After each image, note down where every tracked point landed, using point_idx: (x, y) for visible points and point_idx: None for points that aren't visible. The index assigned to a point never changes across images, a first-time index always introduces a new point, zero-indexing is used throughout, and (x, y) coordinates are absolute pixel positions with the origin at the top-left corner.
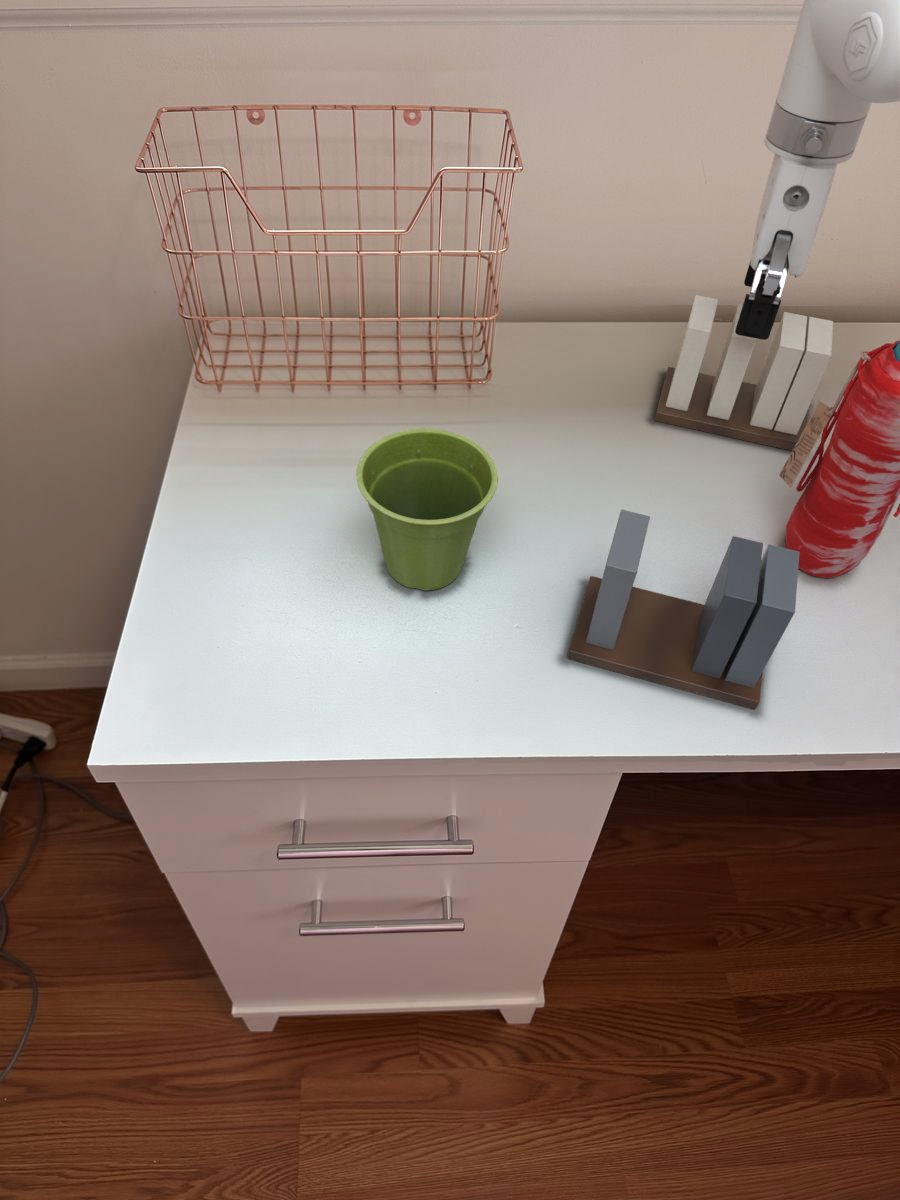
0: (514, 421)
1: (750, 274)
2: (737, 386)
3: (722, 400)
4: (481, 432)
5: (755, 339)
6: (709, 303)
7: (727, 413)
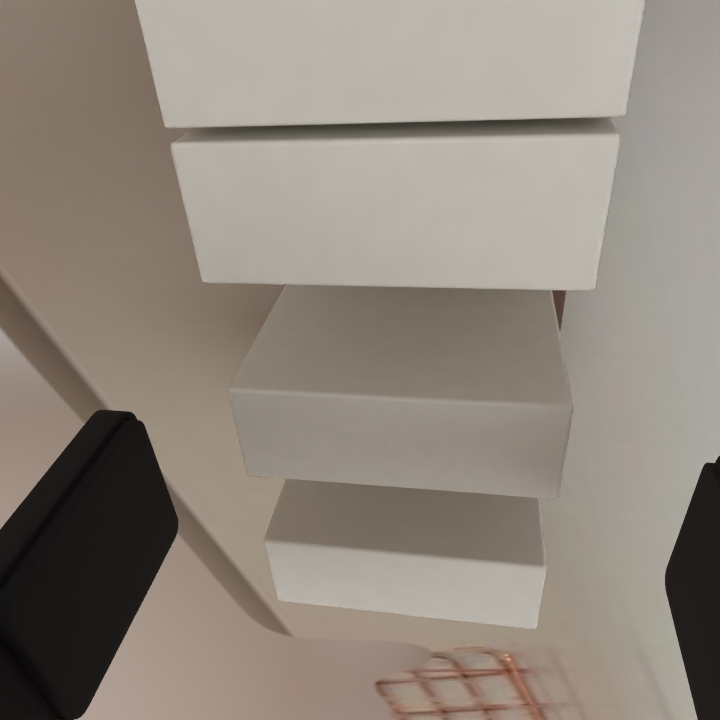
0: (625, 613)
1: (148, 574)
2: None
3: None
4: (676, 652)
5: (562, 411)
6: (316, 567)
7: None
